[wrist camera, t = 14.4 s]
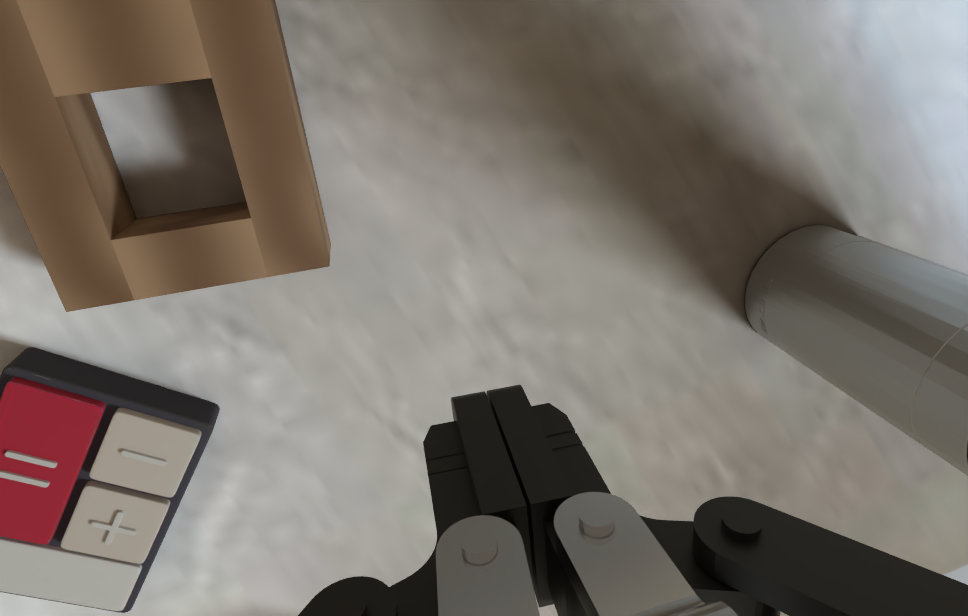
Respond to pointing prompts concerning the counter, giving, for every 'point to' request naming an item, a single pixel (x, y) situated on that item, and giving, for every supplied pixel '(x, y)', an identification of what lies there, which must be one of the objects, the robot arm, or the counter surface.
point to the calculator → (90, 477)
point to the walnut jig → (92, 168)
